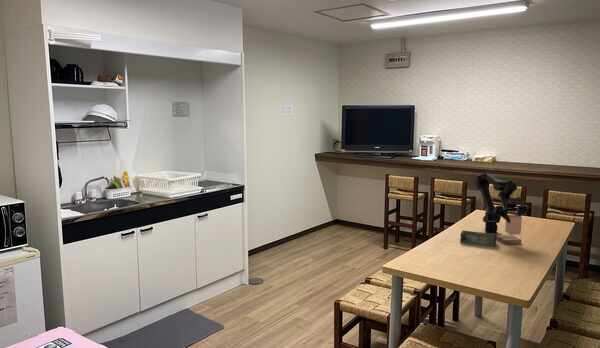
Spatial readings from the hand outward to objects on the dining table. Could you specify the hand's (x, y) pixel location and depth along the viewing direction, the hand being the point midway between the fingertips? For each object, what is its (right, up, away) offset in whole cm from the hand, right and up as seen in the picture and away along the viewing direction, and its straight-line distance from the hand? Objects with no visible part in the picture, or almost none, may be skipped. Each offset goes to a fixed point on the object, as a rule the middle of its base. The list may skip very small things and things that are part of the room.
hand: (514, 222), depth 256 cm
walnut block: (0, -13, +7) cm, 15 cm away
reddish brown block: (0, -6, +2) cm, 7 cm away
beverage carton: (-19, -13, +5) cm, 24 cm away
